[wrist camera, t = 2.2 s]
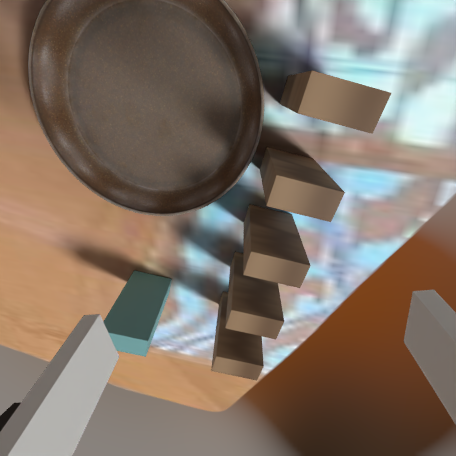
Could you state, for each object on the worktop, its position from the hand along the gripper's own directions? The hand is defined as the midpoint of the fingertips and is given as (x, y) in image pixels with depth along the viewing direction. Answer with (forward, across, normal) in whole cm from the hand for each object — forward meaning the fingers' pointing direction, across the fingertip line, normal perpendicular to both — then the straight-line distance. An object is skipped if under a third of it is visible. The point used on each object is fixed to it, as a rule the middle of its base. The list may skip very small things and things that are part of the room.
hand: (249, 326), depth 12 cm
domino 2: (+20, +7, +8) cm, 23 cm away
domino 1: (+20, -14, -12) cm, 27 cm away
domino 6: (+20, -3, -16) cm, 26 cm away
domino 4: (+20, +2, -4) cm, 21 cm away
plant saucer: (+20, -8, +9) cm, 24 cm away
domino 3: (+20, +4, +2) cm, 21 cm away
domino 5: (+20, -1, -10) cm, 23 cm away
